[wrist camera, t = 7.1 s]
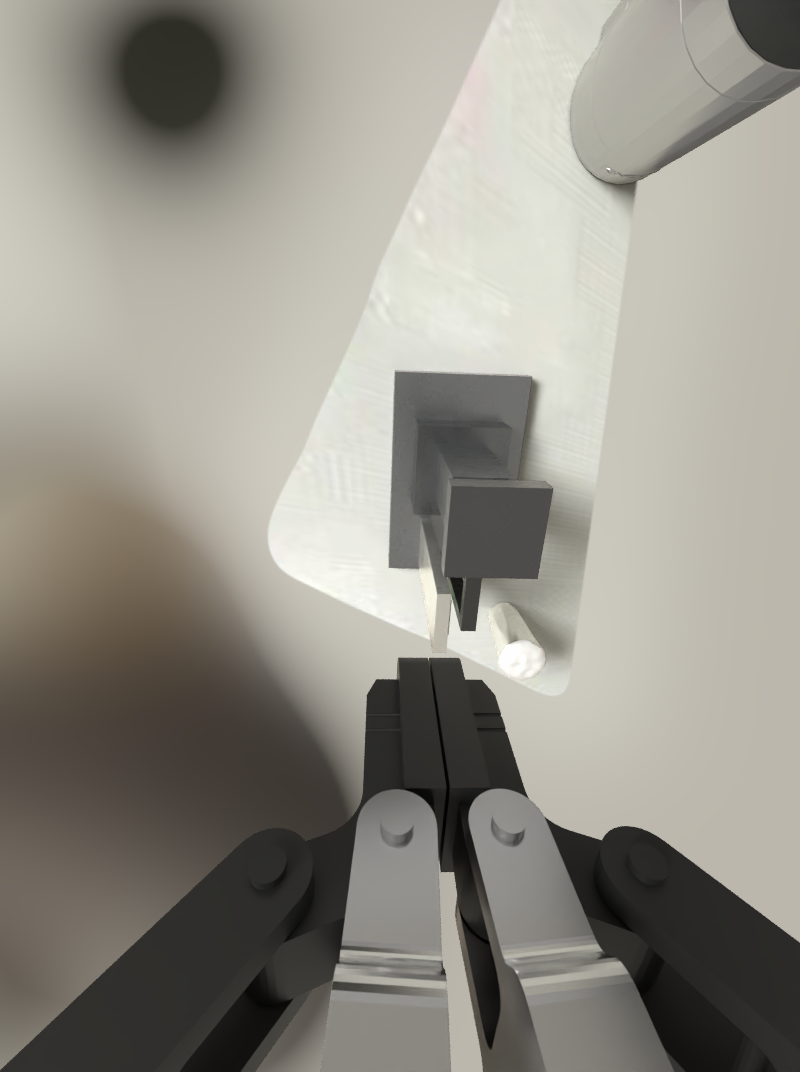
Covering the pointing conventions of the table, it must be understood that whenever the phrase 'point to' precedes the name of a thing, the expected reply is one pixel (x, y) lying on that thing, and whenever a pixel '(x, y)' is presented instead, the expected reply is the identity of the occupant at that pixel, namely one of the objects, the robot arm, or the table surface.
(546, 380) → the table surface
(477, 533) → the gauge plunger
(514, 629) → the milkshake
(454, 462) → the gauge stand
